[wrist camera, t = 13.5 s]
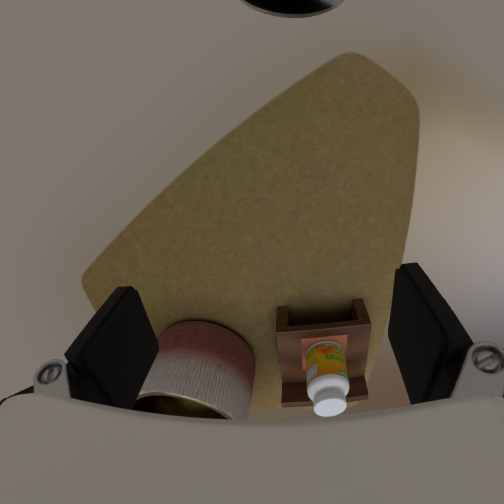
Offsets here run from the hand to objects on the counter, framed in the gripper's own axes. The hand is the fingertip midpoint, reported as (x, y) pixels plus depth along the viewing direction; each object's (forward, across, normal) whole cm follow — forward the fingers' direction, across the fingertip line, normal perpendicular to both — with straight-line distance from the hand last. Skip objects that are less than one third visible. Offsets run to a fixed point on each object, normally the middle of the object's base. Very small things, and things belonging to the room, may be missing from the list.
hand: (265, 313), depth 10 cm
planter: (+28, +16, +30) cm, 44 cm away
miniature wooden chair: (+28, -4, +26) cm, 39 cm away
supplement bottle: (+22, -4, +24) cm, 33 cm away
